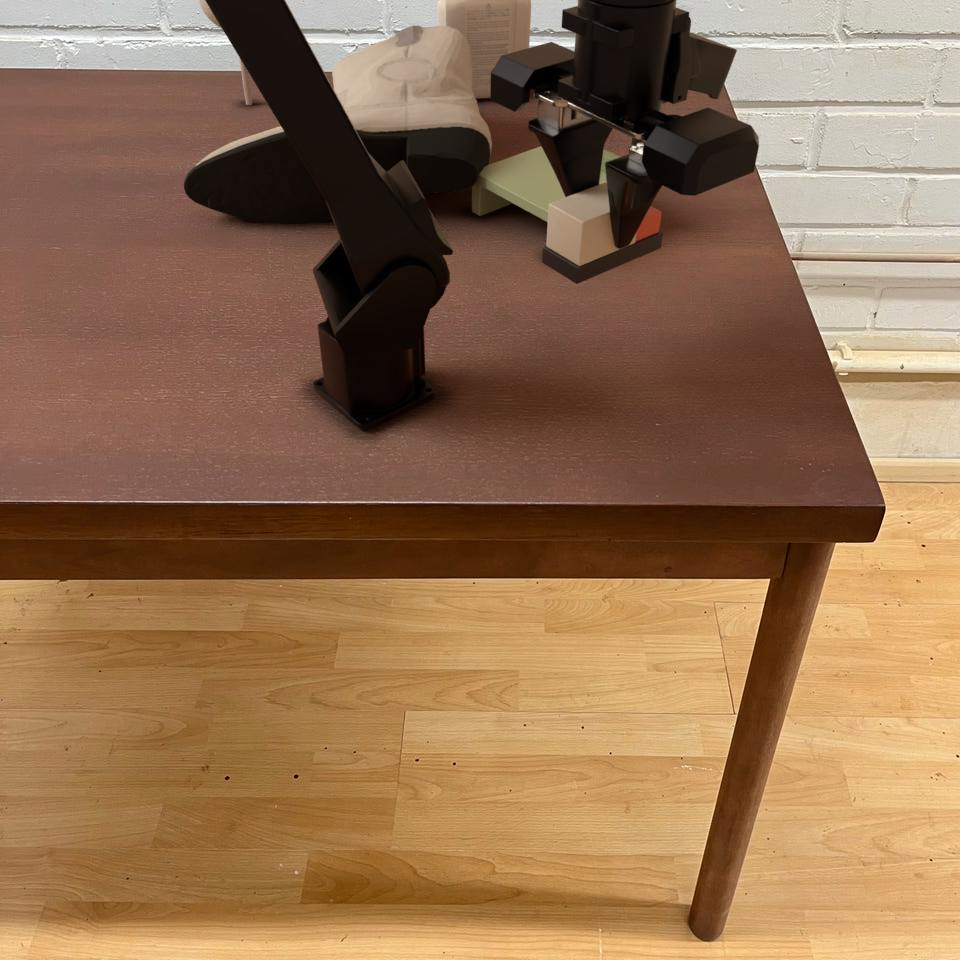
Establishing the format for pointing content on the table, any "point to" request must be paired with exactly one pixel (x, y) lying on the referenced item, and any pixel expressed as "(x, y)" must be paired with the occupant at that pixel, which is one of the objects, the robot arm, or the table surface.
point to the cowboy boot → (364, 132)
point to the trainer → (592, 236)
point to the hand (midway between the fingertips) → (603, 235)
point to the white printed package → (488, 32)
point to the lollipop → (243, 68)
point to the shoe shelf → (522, 183)
